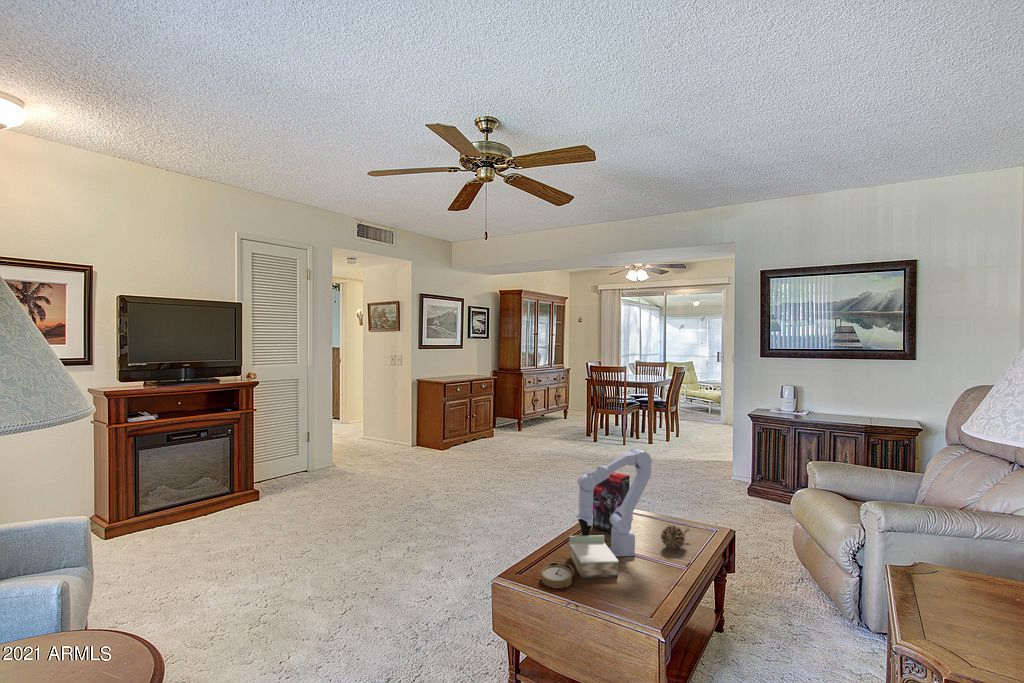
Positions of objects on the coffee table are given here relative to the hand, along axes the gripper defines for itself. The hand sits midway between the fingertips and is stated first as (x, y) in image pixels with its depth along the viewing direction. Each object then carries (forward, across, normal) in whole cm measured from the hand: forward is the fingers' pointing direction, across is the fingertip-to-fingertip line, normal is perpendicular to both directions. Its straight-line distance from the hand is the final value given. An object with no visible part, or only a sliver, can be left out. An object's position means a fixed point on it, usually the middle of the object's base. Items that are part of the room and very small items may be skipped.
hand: (585, 537), depth 211 cm
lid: (+4, +12, 0) cm, 13 cm away
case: (+7, +12, 0) cm, 14 cm away
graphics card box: (+7, -26, +19) cm, 33 cm away
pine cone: (+7, -6, +43) cm, 44 cm away
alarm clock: (+7, +22, -16) cm, 28 cm away
